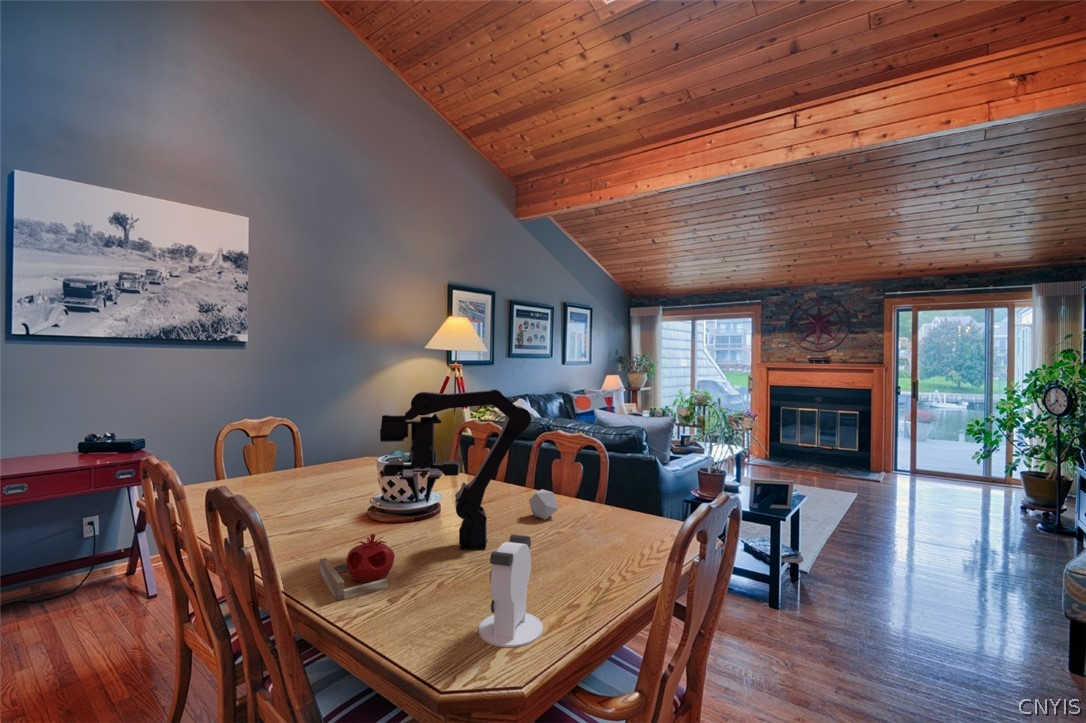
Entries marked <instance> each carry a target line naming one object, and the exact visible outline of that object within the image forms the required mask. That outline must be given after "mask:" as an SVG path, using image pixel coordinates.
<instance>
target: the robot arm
mask: <svg viewBox="0 0 1086 723" xmlns="http://www.w3.org/2000/svg"><path fill="white" fill-rule="evenodd" d="M489 405H491V406H494V407H496V409H497V410H498V411H500V412H501V413H502V414H503V415H505V417H504V420H503V423H502V426H501V430H500V432H499V435H498V437H497V438H496V440H495V442H494V444H493V445H492V447H491V449H490V450H489V452H488V453H487V455H486V457H485V459H484V461H483V462H482V463H481V466H480V467H479V469H478V471H477V472H476V474H475V476H474V477H473V479H472V480H470V482H468V483H465V481H462V483H461V487H460V488H459V490H458V492H456V493H455V495H454V496H455V500H454V502H455V503H454V504H455V505H454V506H455V511H456V514H457V516H458V517H459V518H460V519H462V521H461V525H460V526H459V530H458V531H459V532H458V535H459V536H458V537H459V539H458V544H459V549H460V550H485V549H487V544H488V537H487V535H488V534H487V533H488V532H487V531H488V530H487V528H488V527H487V523H488V521H487V519H488V518H487V515H486V511H485V508H484V507H483V506H481V505H482V502H483V499H484V495H485V492H486V489H487V487H488V486H489V484H490V482H491V481H492V479H493V477H494V475H495V474H496V472H497V470H498V469H499V468H500V465H501V464H502V462H503V460H504V459H505V456H506V455H507V454H508V452H509V451H510V448H511V447H512V445H513V443H514V442H515V441H516V440H517V439H519V437H520V436H522V435H523V433H524V432H525V431H527V429H528V427H530V424H531V422H532V415H531V413H530V411H529V410H527V409H526V408H524V407H523V406H522V407H521V406H520V405H519V406H517V405H515V403H514V402H512V401H511V400H510V399H508V398H507V397H506V396H504V395H503V393H502V392H501V391H500V390H498V389H491V390H490V389H489V390H482V391H481V390H480V391H479V390H478V391H472V392H471V391H470V392H459V393H458V392H457V393H456V392H455V393H441V392H432V391H431V392H430V391H420V392H418V393H416V394H415V395H414V396H413V397H412V399H411V402H410V408H409V409H408V411H407V410H406V411H405V413H404V415H403V414H401V415H390V414H383V415H382V416H381V424H380V429H379V438H380V439H379V440H380V443H396V442H397V443H399V442H400V443H401V442H405V439H406V438H409V437H410V434H411V437H410V440H411V441H410V442H411V444H410V451H409V459H410V464H405V463H404V460H401V461H400V460H395V461H394V460H393V461H388V462H387V463H386V464H384V466H383V468H382V477H396V476H397V475H398V474H399V473H402V477H401V479H402V481H403V480H405V481H406V482H407V484H408V486H409V489H410V490H411V492H412V496H413V497H414V499H415V502H416V503H419V502H420V492H419V480H418V478H419V473H428V474H429V475H428V476H427V477H426V478H427V479H426V491H425V492H426V493H425V503H428V502H429V500H430V497H431V494H432V491H433V489H434V485H435V483H436V481H437V480H439V479H440V478H442V476H443V475H444V476H446V477H450V476H453V477H454V476H455V477H456V476H459V474H460V473H461V462H460V461H459V460H445V461H444V462H443V463H442V464H440V463H438V464H437V460H438V451H437V450H436V449H435V424H437V425H438V424H441V423H442V419H441V418H439V416H438V415H437V413H438V412H442V411H444V410H448V409H457V408H458V409H459V408H470V407H480V406H489ZM431 414H433V415H432V416H428V415H431ZM419 416H420V420H414V419H415V418H417V417H419ZM410 425H411V428H410ZM409 429H410V430H409ZM410 432H411V433H410Z"/></svg>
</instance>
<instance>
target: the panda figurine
mask: <svg viewBox="0 0 1086 723" xmlns="http://www.w3.org/2000/svg"><path fill="white" fill-rule="evenodd" d="M531 545H532V541H531V536H530V535H522V534H521V535H520V534H510V536H509V541H505V542H504V543H503V542H502V544H500V546H499V547H498V548H497V550H496V551H494V550H493V551H492V552H491V554H490V557H489V562H490V564H491V568H490V573H489V584H490V593H491V594H490V595H491V598H492V600H491V604H490V612H491V613H493V614H491V615H489V616H488V617H486V618H484V620H482V621H481V622H480V624H479V627H478V633H479V634H478V635H479V637H480V638H481V639H482V640H483V641H485V643H487V644H489V645H493V646H496V647H499V648H500V647H501V648H517V647H523V646H526V645H529V644H532V643H534V642H535V641H537V640H538V639H539V638H540V637H541V635H542V633H543V632H544V625H543V622H542V621H541V620H540V619H539V618H538V617H536V615H533V614H531V613H528V612H527V595H528V594H527V592H528V590H527V589H528V586H529V583H530V577H531V569H532V558H531V556H532V555H531V550H530V549H531Z"/></svg>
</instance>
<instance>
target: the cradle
mask: <svg viewBox="0 0 1086 723" xmlns="http://www.w3.org/2000/svg"><path fill="white" fill-rule="evenodd" d="M347 571H348V568H347V562H342V563H338V564H334V565H333V564H331V563H330V561H329V560H328V558H326V557H325V558H320V559H319V576H320V578H321V580H322V581H323V582H324V584H325V586H327V588H328V589H329V591H330V592H331V594H332V595H333V597H334V598H335V599H336V601H337V602H340V601H344V600H347V599H351V598H355V597H358V596H362V595H366V594H369V593H373V592H378V591H381V590H384V589H387V588H388V587H389V586H388V584H389V583H388V582H389V580H388V579H387V578H382V579H379V580H377V581H372V582H371V581H370V582H368V583H363V584H360V585H355V586H351V587H348V588H345V581H344V579H343V578H342V577H341V576H340V573H343V572H347ZM348 572H349V571H348Z"/></svg>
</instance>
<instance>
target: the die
mask: <svg viewBox="0 0 1086 723" xmlns="http://www.w3.org/2000/svg"><path fill="white" fill-rule="evenodd" d="M528 503H529V506H530V511H531V513H532V514H533V516H534V517H536V518H538V519H541V520H544V521H546V520H547V519H548V518H550V517H551V516H552V515H553V514H554V513H556V512H557V511H558V510H559V506H558V503H557V500H556V496H555V494H554V492H553V491H549V490H546V489H540V490H538V491H537V492H535V493H534V494H533V495H532V496H531V497H530V498H529V499H528Z"/></svg>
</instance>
